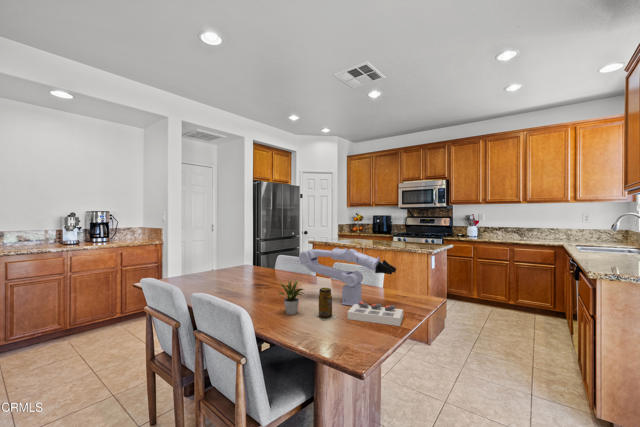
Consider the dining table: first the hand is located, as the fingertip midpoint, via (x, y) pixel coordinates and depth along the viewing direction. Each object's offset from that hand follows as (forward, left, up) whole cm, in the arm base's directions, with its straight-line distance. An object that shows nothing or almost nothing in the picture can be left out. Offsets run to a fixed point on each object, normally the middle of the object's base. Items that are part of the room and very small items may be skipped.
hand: (394, 271), depth 135 cm
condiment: (-27, -19, -18) cm, 38 cm away
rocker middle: (-6, -11, -14) cm, 19 cm away
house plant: (-44, -22, -18) cm, 53 cm away
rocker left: (-12, -11, -14) cm, 22 cm away
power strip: (-6, -12, -18) cm, 22 cm away
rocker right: (0, -11, -14) cm, 18 cm away
